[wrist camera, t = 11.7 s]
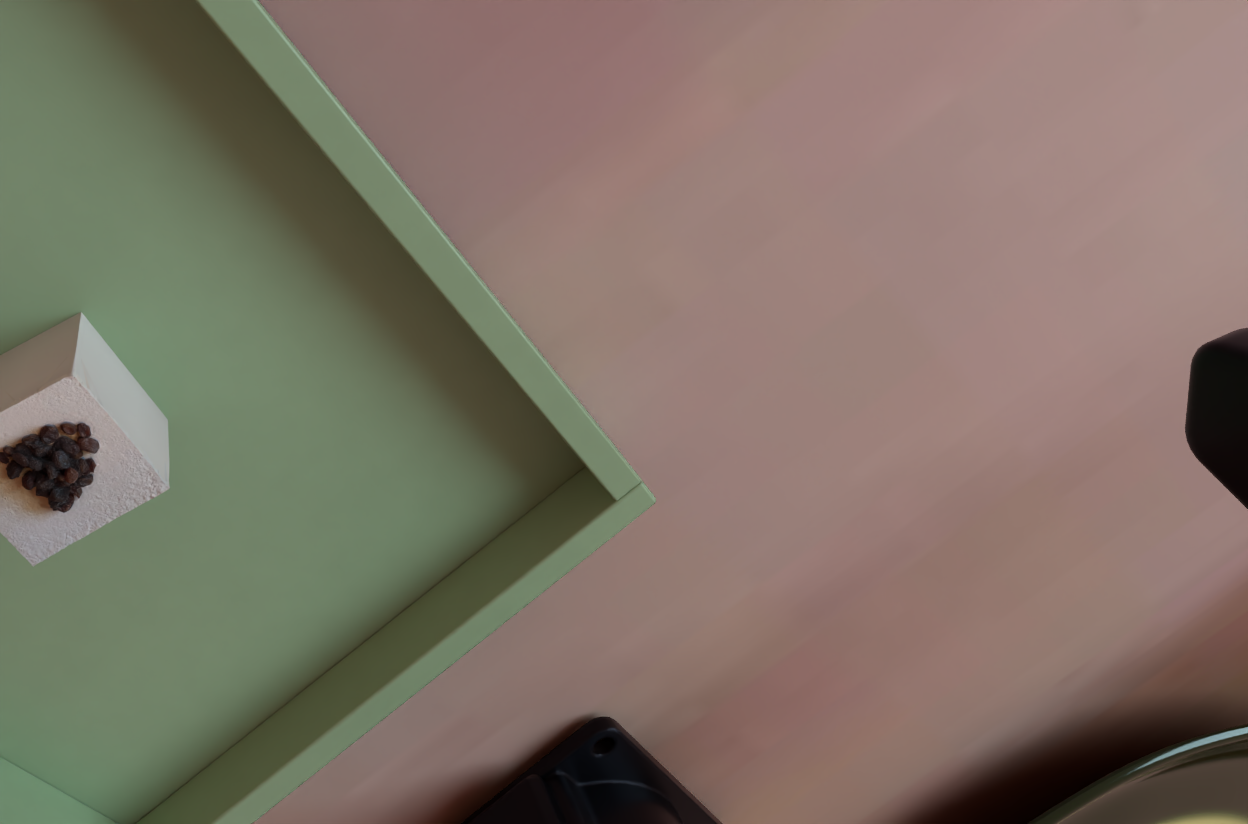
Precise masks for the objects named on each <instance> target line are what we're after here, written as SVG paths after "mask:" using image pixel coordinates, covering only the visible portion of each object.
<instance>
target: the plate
mask: <svg viewBox="0 0 1248 824" xmlns="http://www.w3.org/2000/svg"><path fill="white" fill-rule="evenodd" d="M1027 824H1248V724H1244V725H1239V726H1235V727H1230V728H1226V729H1222V730H1218V731H1215V732H1211V733H1207V734H1204V735H1201V736H1197V737H1194V738H1191V739H1188V740H1185V741H1182V742H1179V743H1176V744H1173V745H1171V746H1168V747H1166V748H1163V749H1161V750H1158V751H1156V752H1153V753H1151V754H1148V755H1146V756H1144V757H1142V758H1140V759H1138V760H1135V761H1133V762H1131V763H1129V764H1127V765H1125V766H1123V767H1121V768H1119V769H1117V770H1115V771H1113V772H1112V773H1110V774H1108V775H1106V776H1104V777H1103V778H1101V779H1099V780H1097V781H1095V782H1094V783H1092V784H1090V785H1088V786H1087V787H1085V788H1083V789H1082V790H1080V791H1078V792H1077V793H1075V794H1073V795H1072V796H1070V797H1068V798H1067V799H1065V800H1064V801H1062V802H1060V803H1059V804H1057V805H1055V806H1054V807H1052V808H1050V809H1049V810H1047V811H1046V812H1044V813H1042V814H1041V815H1039V816H1037V817H1036V818H1034V819H1033V820H1031V821H1030V822H1028V823H1027Z"/></svg>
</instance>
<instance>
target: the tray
mask: <svg viewBox="0 0 1248 824" xmlns="http://www.w3.org/2000/svg"><path fill="white" fill-rule="evenodd" d="M80 312H82V313H83V315H84V316H85V317H86V318H87V320H88V321H89V322H90V323H91V325H92V326H93V327H94V328H95V330H96V331H97V332H98V333H99V335H100V336H101V337H102V338H103V339H104V341H105V342H106V343H107V344H108V346H109V347H110V348H111V349H112V351H113V352H114V353H115V354H116V356H117V357H118V358H119V359H120V361H121V362H122V363H123V364H124V366H125V367H126V368H127V369H128V371H129V372H130V373H131V374H132V376H133V377H134V378H135V379H136V381H137V382H138V383H139V384H140V386H141V387H142V388H143V389H144V391H145V392H146V393H147V394H148V396H149V397H150V398H151V399H152V401H153V402H154V403H155V404H156V405H157V407H158V408H159V409H160V410H161V412H162V413H163V414H164V415H165V417H166V418H167V419H168V438H169V487H170V489H168V490H167V491H165V492H163V493H161V494H160V495H158V496H157V497H155V498H152V499H150V500H149V501H147V502H145V503H143V504H141V505H140V506H139V505H138V507H136V508H134V509H133V510H131V511H128V512H127V513H125V514H123V515H121V516H119V517H117V518H116V519H114V520H112V521H111V522H110V523H107V524H105V525H103V526H102V527H101V528H99V529H97V530H95V531H94V532H92V533H90V534H88V535H87V536H85V537H84V538H82V539H80V540H77V541H76V542H74V543H72V544H69V545H68V546H67V547H65V548H64V549H61V550H60V551H59V552H57V553H55V554H54V555H52V556H50V557H48V558H47V559H45V560H44V561H42V562H39V563H38V564H36V565H35V566H34V567H33V566H32V565H31V563H30V562H29V561H28V560H27V559H26V558H25V557H23V556H22V555H21V554H20V553H19V551H17V549H16V547H14V546H13V545H12V544H11V543H10V542H9V541H8V539H7V538H6V537H4V536H3V535H2V534H1V533H0V824H252V823H253V822H255V821H256V820H257V819H259V818H260V817H261V816H262V815H264V814H265V813H266V812H267V811H269V810H270V809H271V808H272V807H274V806H275V805H276V804H277V803H279V802H280V801H281V800H282V799H284V798H285V797H286V796H287V795H289V794H290V793H291V792H292V791H294V790H295V789H296V788H297V787H299V786H300V785H301V784H303V783H304V782H305V781H306V780H308V779H309V778H310V777H311V776H313V775H314V774H315V773H316V772H318V771H319V770H320V769H321V768H323V767H324V766H325V765H326V764H328V763H329V762H330V761H331V760H333V759H334V758H335V757H336V756H338V755H339V754H340V753H341V752H343V751H344V750H345V749H347V748H348V747H349V746H350V745H352V744H353V743H354V742H355V741H357V740H358V739H359V738H360V737H362V736H363V735H364V734H365V733H367V732H368V731H369V730H370V729H372V728H373V727H374V726H375V725H377V724H378V723H379V722H380V721H382V720H383V719H384V718H386V717H387V716H388V715H389V714H391V713H392V712H393V711H394V710H396V709H397V708H398V707H399V706H401V705H402V704H403V703H404V702H406V701H407V700H408V699H409V698H411V697H412V696H413V695H414V694H416V693H417V692H418V691H419V690H421V689H422V688H423V687H424V686H426V685H427V684H428V683H430V682H431V681H432V680H433V679H435V678H436V677H437V676H438V675H440V674H441V673H442V672H443V671H445V670H446V669H447V668H448V667H450V666H451V665H452V664H453V663H455V662H456V661H457V660H458V659H460V658H461V657H462V656H463V655H465V654H466V653H467V652H468V651H470V650H471V649H472V648H474V647H475V646H476V645H477V644H479V643H480V642H481V641H482V640H484V639H485V638H486V637H487V636H489V635H490V634H491V633H492V632H494V631H495V630H496V629H497V628H499V627H500V626H501V625H502V624H504V623H505V622H506V621H507V620H509V619H510V618H511V617H513V616H514V615H515V614H516V613H518V612H519V611H520V610H521V609H523V608H524V607H525V606H526V605H528V604H529V603H530V602H531V601H533V600H534V599H535V598H536V597H538V596H539V595H540V594H541V593H543V592H544V591H545V590H546V589H548V588H549V587H550V586H551V585H553V584H554V583H555V582H557V581H558V580H559V579H560V578H562V577H563V576H564V575H565V574H567V573H568V572H569V571H570V570H572V569H573V568H574V567H575V566H577V565H578V564H579V563H580V562H582V561H583V560H584V559H585V558H587V557H588V556H589V555H590V554H592V553H593V552H594V551H595V550H597V549H598V548H599V547H601V546H602V545H603V544H604V543H606V542H607V541H608V540H609V539H611V538H612V537H613V536H614V535H616V534H617V533H618V532H619V531H621V530H622V529H623V528H624V527H626V526H627V525H628V524H629V523H631V522H632V521H633V520H634V519H636V518H637V517H638V516H640V515H641V514H642V513H643V512H645V511H646V510H647V509H648V508H650V507H651V506H652V505H653V504H655V502H656V498H655V496H654V495H653V494H652V493H651V491H650V490H649V489H648V487H647V486H646V485H645V484H644V482H643V481H642V480H641V478H640V477H639V476H638V475H637V473H636V472H635V471H634V469H633V468H632V467H631V466H630V464H629V463H628V462H627V460H626V459H625V458H624V457H623V455H622V454H621V453H620V451H619V450H618V449H617V448H616V446H615V445H614V444H613V443H612V441H611V440H610V439H609V438H608V436H607V435H606V434H605V433H604V431H603V430H602V429H601V428H600V426H599V425H598V424H597V423H596V421H595V420H594V419H593V418H592V416H591V415H590V414H589V413H588V411H587V410H586V409H585V408H584V406H583V405H582V404H581V403H580V401H579V400H578V399H577V398H576V396H575V395H574V394H573V393H572V391H571V390H570V389H569V388H568V386H567V385H566V384H565V383H564V381H563V380H562V379H561V378H560V376H559V375H558V374H557V373H556V371H555V370H554V369H553V368H552V366H551V365H550V364H549V363H548V361H547V360H546V359H545V358H544V356H543V355H542V354H541V353H540V351H539V350H538V349H537V348H536V346H535V345H534V344H533V343H532V341H531V340H530V339H529V338H528V337H527V335H526V334H525V333H524V332H523V330H522V329H521V328H520V327H519V325H518V324H517V323H516V322H515V320H514V319H513V318H512V317H511V315H510V314H509V313H508V312H507V310H506V309H505V308H504V307H503V305H502V304H501V303H500V302H499V300H498V299H497V298H496V297H495V295H494V294H493V293H492V292H491V290H490V289H489V288H488V287H487V285H486V284H485V283H484V282H483V280H482V279H481V278H480V277H479V275H478V274H477V273H476V272H475V270H474V269H473V268H472V267H471V265H470V264H469V263H468V262H467V260H466V259H465V258H464V257H463V255H462V254H461V253H460V252H459V250H458V249H457V248H456V247H455V245H454V244H453V243H452V242H451V240H450V239H449V238H448V237H447V235H446V234H445V233H444V232H443V230H442V229H441V228H440V227H439V225H438V224H437V223H436V222H435V220H434V219H433V218H432V217H431V215H430V214H429V213H428V212H427V210H426V209H425V208H424V207H423V205H422V204H421V203H420V202H419V200H418V199H417V198H416V197H415V195H414V194H413V193H412V192H411V190H410V189H409V188H408V187H407V185H406V184H405V183H404V182H403V180H402V179H401V178H400V177H399V175H398V174H397V173H396V172H395V170H394V169H393V168H392V167H391V165H390V164H389V163H388V162H387V160H386V159H385V158H384V157H383V155H382V154H381V153H380V152H379V150H378V149H377V148H376V147H375V146H374V144H373V143H372V142H371V141H370V139H369V138H368V137H367V136H366V134H365V133H364V132H363V131H362V129H361V128H360V127H359V126H358V124H357V123H356V122H355V121H354V119H353V118H352V117H351V116H350V114H349V113H348V112H347V111H346V109H345V108H344V107H343V106H342V104H341V103H340V102H339V101H338V99H337V98H336V97H335V96H334V94H333V93H332V92H331V91H330V89H329V88H328V87H327V86H326V84H325V83H324V82H323V81H322V79H321V78H320V77H319V76H318V74H317V73H316V72H315V71H314V69H313V68H312V67H311V66H310V64H309V63H308V62H307V61H306V59H305V58H304V57H303V56H302V54H301V53H300V52H299V51H298V49H297V48H296V47H295V46H294V44H293V43H292V42H291V41H290V39H289V38H288V37H287V36H286V34H285V33H284V32H283V31H282V29H281V28H280V27H279V26H278V24H277V23H276V22H275V21H274V19H273V18H272V17H271V16H270V14H269V13H268V12H267V11H266V9H265V8H264V7H263V6H262V4H261V3H260V2H259V1H258V0H0V355H2V354H4V353H5V352H7V351H9V350H11V349H13V348H15V347H17V346H18V345H20V344H22V343H24V342H26V341H28V340H30V339H32V338H33V337H35V336H37V335H39V334H41V333H43V332H45V331H46V330H48V329H50V328H52V327H54V326H56V325H58V324H60V323H61V322H63V321H65V320H67V319H69V318H71V317H73V316H75V315H76V314H78V313H80Z"/></svg>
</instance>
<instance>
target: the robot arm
mask: <svg viewBox="0 0 1248 824" xmlns="http://www.w3.org/2000/svg"><path fill="white" fill-rule="evenodd" d="M1185 433H1186V438H1187V442H1188V444H1189V446H1190V449H1191V450H1192V452H1193V454H1194V455H1195V457H1196V458H1197V459H1198V460H1199V461H1200V462H1201V463H1202V464H1203V465H1204V466H1205V467H1206V468H1207V469H1208V470H1209V471H1210V472H1211V473H1212V474H1213V475H1214V476H1215V477H1216V478H1217V479H1218V480H1219V481H1220V482H1221V483H1222V484H1223V485H1224V486H1225V487H1226V488H1227V489H1228V490H1229V491H1230V492H1231V493H1232V494H1233V495H1234V496H1235V497H1236V498H1237V499H1238V500H1239V501H1240V502H1241V503H1242V504H1243V505H1244V506H1245V507H1246V508H1247V509H1248V328H1243V329H1239V330H1235V331H1233V332H1231V333H1228V334H1226V335H1224V336H1221V337H1219V338H1217V339H1215V340H1212V341H1210V342H1208V343H1206V344H1204V345H1202V346H1201V347H1200V348H1199V349H1198V350H1197V351H1196V353H1195V355H1194V356H1193V359H1192V363H1191V370H1190V381H1189V391H1188V402H1187V413H1186V424H1185ZM603 738H605V739H604V740H602V741H601V742H599V743H597V741H599V740H601V739H603ZM461 824H722V823H721V822H720V821H719V820H718V819H717V818H716V817H715V816H714V815H713V814H712V813H711V812H710V811H709V810H708V809H707V808H706V807H705V806H704V805H703V804H702V803H701V802H699V801H698V800H697V799H696V798H695V797H694V796H693V795H692V794H691V793H690V792H689V791H688V790H687V789H686V788H685V787H684V786H683V785H682V784H681V783H680V782H679V781H678V780H677V779H676V778H675V777H674V776H672V775H671V774H670V773H669V772H668V771H667V770H666V769H665V768H664V767H663V766H662V765H661V764H660V763H659V762H658V761H657V760H656V759H655V758H654V757H653V756H652V755H651V754H650V753H649V752H648V751H646V750H645V749H644V748H643V747H642V746H641V745H640V744H639V743H638V742H637V741H636V740H635V739H634V738H633V737H632V736H631V735H630V734H629V733H628V732H627V731H626V730H625V729H624V728H623V727H622V726H621V725H619V724H618V723H617V722H616V721H615V720H614V719H612V718H610V717H599V718H595V719H593V720H591V721H589V722H588V723H586V724H585V725H584V726H582V727H581V728H580V729H579V730H577V731H576V732H575V733H574V734H572V735H571V736H570V737H569V738H567V739H566V740H565V741H563V742H562V743H561V744H560V745H558V746H557V747H556V748H555V749H553V750H552V751H551V752H550V753H548V754H547V755H546V756H545V757H543V758H542V759H541V760H540V761H538V762H537V763H536V764H535V765H533V766H532V767H531V768H530V769H528V770H527V771H526V772H525V773H523V774H522V775H521V776H520V777H518V778H517V779H516V780H515V781H513V782H512V783H511V784H510V785H508V786H507V787H506V788H505V789H503V790H502V791H501V792H500V793H498V794H497V795H496V796H495V797H493V798H492V799H491V800H490V801H488V802H487V803H486V804H485V805H483V806H482V807H481V808H480V809H478V810H477V811H476V812H475V813H473V814H472V815H471V816H470V817H468V818H467V819H466V820H465V821H463V822H462V823H461Z"/></svg>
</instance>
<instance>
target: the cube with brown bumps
mask: <svg viewBox="0 0 1248 824" xmlns="http://www.w3.org/2000/svg"><path fill="white" fill-rule="evenodd" d="M168 489H170V487H169V438H168V419H167V418H166V417H165V415H164V414H163V413H162V412H161V410H160V409H159V408H158V407H157V405H156V404H155V403H154V402H153V401H152V399H151V398H150V397H149V396H148V394H147V393H146V392H145V391H144V389H143V388H142V387H141V386H140V384H139V383H138V382H137V381H136V379H135V378H134V377H133V376H132V374H131V373H130V372H129V371H128V369H127V368H126V367H125V366H124V364H123V363H122V362H121V361H120V359H119V358H118V357H117V356H116V354H115V353H114V352H113V351H112V349H111V348H110V347H109V346H108V344H107V343H106V342H105V341H104V339H103V338H102V337H101V336H100V335H99V333H98V332H97V331H96V330H95V328H94V327H93V326H92V325H91V323H90V322H89V321H88V320H87V318H86V317H85V316H84V315H83V313H82V312H80V313H78V314H76V315H75V316H73V317H71V318H69V319H67V320H65V321H63V322H61V323H60V324H58V325H56V326H54V327H52V328H50V329H48V330H46V331H45V332H43V333H41V334H39V335H37V336H35V337H33V338H32V339H30V340H28V341H26V342H24V343H22V344H20V345H18V346H17V347H15V348H13V349H11V350H9V351H7V352H5V353H4V354H2V355H0V533H1V534H2V535H3V536H4V537H6V538H7V539H8V541H9V542H10V543H11V544H12V545H13V546H14V547H16V549H17V551H19V553H20V554H21V555H22V556H23V557H25V558H26V559H27V560H28V561H29V562H30V563H31V565H32V566H33V567H34V566H35V565H36V564H38V563H39V562H42V561H44V560H45V559H47V558H48V557H50V556H52V555H54V554H55V553H57V552H59V551H60V550H61V549H64V548H65V547H67V546H68V545H69V544H72V543H74V542H76V541H77V540H80V539H82V538H84V537H85V536H87V535H88V534H90V533H92V532H94V531H95V530H97V529H99V528H101V527H102V526H103V525H105V524H107V523H110V522H111V521H112V520H114V519H116V518H117V517H119V516H121V515H123V514H125V513H127V512H128V511H131V510H133V509H134V508H136V507H138V505H139V506H140V505H141V504H143V503H145V502H147V501H149V500H150V499H152V498H155V497H157V496H158V495H160V494H161V493H163V492H165V491H167V490H168Z"/></svg>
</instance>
